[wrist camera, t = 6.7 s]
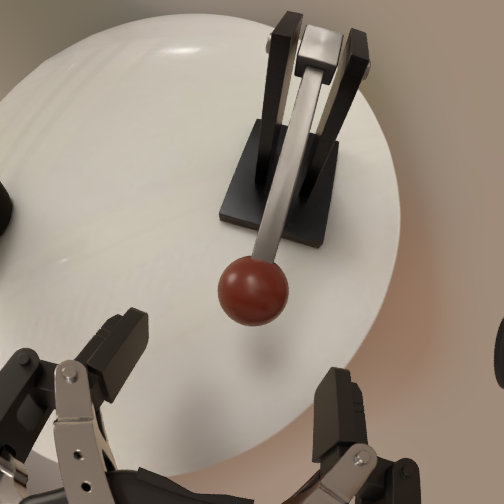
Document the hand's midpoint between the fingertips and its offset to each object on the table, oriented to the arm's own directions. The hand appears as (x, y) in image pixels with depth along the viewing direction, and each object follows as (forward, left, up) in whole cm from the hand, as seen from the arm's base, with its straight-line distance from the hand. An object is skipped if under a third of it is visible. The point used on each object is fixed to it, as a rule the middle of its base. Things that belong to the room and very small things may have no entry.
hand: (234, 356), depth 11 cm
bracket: (+12, -11, -10) cm, 19 cm away
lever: (+8, -7, -1) cm, 10 cm away
